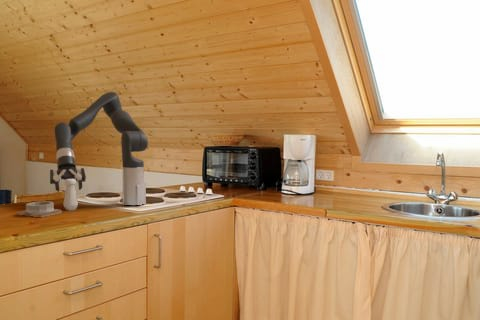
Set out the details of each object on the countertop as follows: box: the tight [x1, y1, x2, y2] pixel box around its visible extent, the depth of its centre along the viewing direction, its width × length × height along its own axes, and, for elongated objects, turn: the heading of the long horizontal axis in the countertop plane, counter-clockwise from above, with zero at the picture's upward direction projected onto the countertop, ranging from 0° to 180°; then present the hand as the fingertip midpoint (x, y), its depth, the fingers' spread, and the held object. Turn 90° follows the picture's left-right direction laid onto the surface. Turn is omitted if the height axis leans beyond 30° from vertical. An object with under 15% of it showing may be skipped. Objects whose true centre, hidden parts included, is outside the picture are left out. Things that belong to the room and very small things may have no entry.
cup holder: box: [17, 200, 62, 218], centre depth 159 cm, size 12×10×4 cm
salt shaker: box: [62, 179, 79, 211], centre depth 169 cm, size 6×6×13 cm
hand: (69, 189), depth 171 cm, fingers open, 8 cm apart
